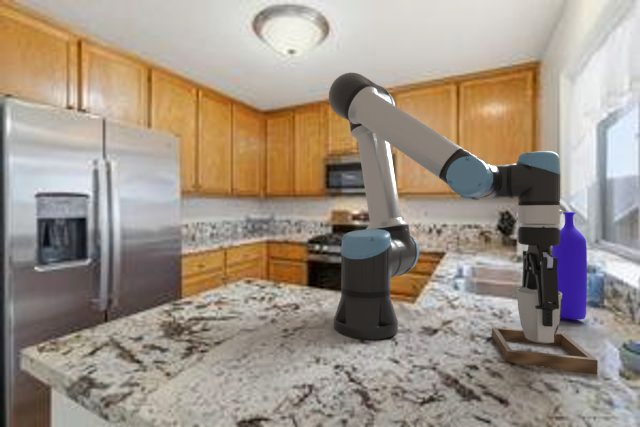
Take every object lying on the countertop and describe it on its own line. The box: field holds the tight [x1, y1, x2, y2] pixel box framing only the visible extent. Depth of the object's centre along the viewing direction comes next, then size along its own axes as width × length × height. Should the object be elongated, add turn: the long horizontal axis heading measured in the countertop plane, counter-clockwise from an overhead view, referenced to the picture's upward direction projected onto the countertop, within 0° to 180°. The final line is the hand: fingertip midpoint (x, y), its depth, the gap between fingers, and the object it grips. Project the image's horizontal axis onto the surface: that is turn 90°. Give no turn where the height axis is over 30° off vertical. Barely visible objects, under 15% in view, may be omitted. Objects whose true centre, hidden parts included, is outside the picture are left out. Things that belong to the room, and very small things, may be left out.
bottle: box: [551, 211, 588, 321], centre depth 101 cm, size 8×8×30 cm
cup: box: [516, 287, 562, 344], centre depth 74 cm, size 8×8×10 cm
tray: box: [491, 326, 598, 375], centre depth 74 cm, size 15×15×2 cm
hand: (538, 334), depth 74 cm, fingers closed on cup, 7 cm apart
